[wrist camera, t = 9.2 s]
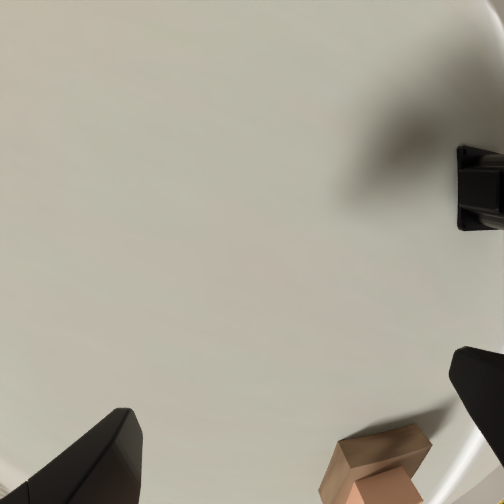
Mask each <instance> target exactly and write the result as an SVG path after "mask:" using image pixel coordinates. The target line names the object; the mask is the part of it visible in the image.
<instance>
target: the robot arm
mask: <svg viewBox="0 0 504 504" xmlns="http://www.w3.org/2000/svg"><path fill="white" fill-rule="evenodd" d="M462 151H463V152H462ZM457 161H458V218H457V227H458V229H459V230H462V231H477V230H500V229H501V230H504V155H503V154H499V153H495V152H491V151H486V150H482V149H478V148H473V147H468V146H459V147H458V148H457ZM449 379H450V381H451V383H452V384H453V386H454V388H455V390H456V391H457V393H458V395H459V397H460V398H461V400H462V402H463V404H464V406H465V408H466V409H467V411H468V413H469V415H470V416H471V418H472V419H473V421H474V422H475V424H476V425H477V427H478V428H479V430H480V431H481V433H482V434H483V436H484V437H485V439H486V440H487V442H488V443H489V445H490V447H491V448H492V450H493V451H494V453H495V455H496V456H497V458H498V459H499V461H500V463H501V464H502V466H503V467H504V354H499V353H495V352H490V351H486V350H481V349H477V348H473V347H468V346H464V347H462V348H459V349H457V350H456V351H455V352H454V354H453V358H452V362H451V366H450V369H449ZM142 445H143V434H142V430H141V427H140V425H139V423H138V420H137V418H136V416H135V413H134V411H133V410H132V409H131V408H116V409H114V410H113V411H112V412H111V413H110V414H108V415H107V416H106V417H105V418H104V419H102V420H101V421H100V422H99V423H98V424H96V425H95V426H94V427H93V428H92V429H90V430H89V431H88V432H87V433H85V434H84V435H83V436H82V437H81V438H79V439H78V440H77V441H76V442H74V443H73V444H72V445H71V446H70V447H68V448H67V449H66V450H65V451H63V452H62V453H61V454H60V455H58V456H57V457H56V458H55V459H53V460H52V461H51V462H50V463H48V464H47V465H46V466H45V467H43V468H42V469H41V470H40V471H38V472H37V473H36V474H34V475H33V476H32V477H31V478H29V479H28V482H27V481H25V482H24V483H23V484H21V485H20V486H19V487H17V488H16V489H15V490H13V491H12V492H11V493H9V494H8V495H6V496H5V497H4V498H2V499H0V504H138V503H139V496H140V489H141V469H142Z"/></svg>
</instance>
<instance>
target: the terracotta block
mask: <svg viewBox="0 0 504 504" xmlns="http://www.w3.org/2000/svg"><path fill="white" fill-rule="evenodd" d="M422 502H423V499H422V497H421V496H420V494H419V493H418V491H417V489H416V488H415V486H414V484H413V483H412V481H411V480H410V478H409V476H408V475H407V473H406V472H405V470H404V468H403V467H402V466H400V467H397V468H394V469H392V470H389V471H386V472H383V473H380V474H377V475H374V476H371V477H368V478H364V479H361V480H358V481H354V484H353V486H352V489H351V492H350V494H349V497H348V499H347V502H346V504H421V503H422Z"/></svg>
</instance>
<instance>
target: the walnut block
mask: <svg viewBox="0 0 504 504" xmlns="http://www.w3.org/2000/svg"><path fill="white" fill-rule="evenodd" d="M431 447H432V444H431V442H430V441H429V440H428V438H427V437H426V436H425V434H424V433H423V432H422V431H421V429H420V428H419V427H418V425H417V424H413V425H409V426H405V427H402V428H398V429H394V430H390V431H386V432H382V433H377V434H373V435H368V436H363V437H358V438H353V439H348V440H342V441H338V442H337V445H336V448H335V450H334V453H333V456H332V458H331V461H330V463H329V466H328V468H327V471H326V473H325V476H324V478H323V481H322V483H321V485H320V488H319V490H318V491H319V494H320V497H321V500H322V503H323V504H346V502H347V499H348V497H349V494H350V492H351V489H352V486H353V484H354V481H358V480H361V479H364V478H368V477H371V476H374V475H377V474H380V473H383V472H386V471H389V470H392V469H394V468H397V467H400V466H402V467H403V468H404V470H405V472H406V473H407V475H408V476H409V478H410V480H411V478H412V477H413V475H414V474H415V472H416V471H417V469H418V468H419V466H420V465H421V463H422V462H423V460H424V458H425V457H426V455H427V454H428V452H429V450H430V449H431Z"/></svg>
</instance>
